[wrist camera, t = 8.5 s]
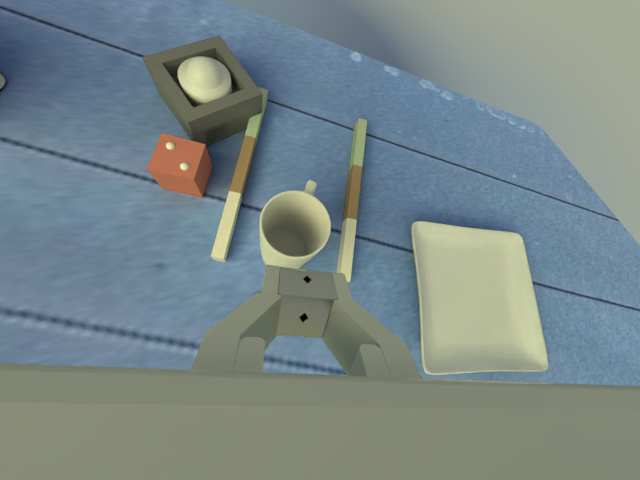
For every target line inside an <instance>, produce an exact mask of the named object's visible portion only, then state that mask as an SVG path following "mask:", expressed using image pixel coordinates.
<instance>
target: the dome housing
mask: <svg viewBox="0 0 640 480" xmlns="http://www.w3.org/2000/svg"><path fill="white" fill-rule="evenodd" d="M198 56H203V57H209V58H212V59H215V60H217V61H219V62H220V63H222V64H223V65H224V66H225V67H226V68H227V70H228V71H229V73H230V77H231V85H232V94H229V95H227V96H224V97H221V98H218V99H216V100H213V101H210V102H207V103H205V104H202V105H199V106H196V107H195V106H194V105H192V104H191V103H190V102H189V101H188V100H187V98H186V97H185V95H184V93H183V90H182V87H181V85H180V82H179V79H178V69H179V66H180V65H181V64H182V63H183V62H184V61H185V60H187V59H189V58H192V57H198ZM142 58H143V60H144V62H145V64H146V66H147V69H148V71H149V73H150V75H151V77H152V79H153V81H154V84H155V86H156V88H157V90H158V92H159V94H160V95H161V97H162V98H163V100H164V101H165V103H166V104H167V105H168V107H169V108H170V110H171V111H172V113H173V114H174V115H175V117H176V118H177V120H178V121H179V123H180V124H181V126H182V127H183V128H184V130H185V131H186V133H187V134H188V136H189V137H190V138H191V140H192V141H195V142H199V143H203V144H206V146H207V145H210V144H212V143H214V142H217V141H219V140H221V139H224V138H226V137H228V136H231V135H233V134H235V133H238V132H240V131H242V130H245V129H247V126H248V122H249V118H251V117H253V116H255V115H258V114H260V113H262V92H261V91H260V90H259V88H258V87H257V86H256V84H255V83H254V82H253V80H252V79H251V77H250V76H249V75H248V73H247V72H246V71H245V69H244V68H243V67H242V65H241V64H240V63H239V61H238V60H237V59H236V57H235V56H234V54H233V53H232V52H231V50H230V49H229V48H228V46H227V45H226V44H225V42H224V41H223V40H222V38H221V37H220V36H217V37H214V38H210V39H206V40H203V41H199V42H195V43H192V44H188V45H184V46H181V47H177V48H173V49H170V50H166V51H162V52H159V53H155V54H151V55H148V56H144V57H142Z"/></svg>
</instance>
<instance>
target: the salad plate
mask: <svg viewBox="0 0 640 480" xmlns="http://www.w3.org/2000/svg"><path fill="white" fill-rule="evenodd" d="M411 238H412V246H413V253H414V260H415V268H416V277H417V287H418V298H419V313H420V337H421V358H422V365H423V369H424V371H425V372H426V373H427V374H430V375H445V374H458V373H473V372H492V371H520V372H537V371H545V370H547V368H548V359H547V353H546V347H545V342H544V337H543V332H542V327H541V322H540V317H539V312H538V307H537V302H536V298H535V293H534V288H533V284H532V279H531V274H530V270H529V265H528V260H527V255H526V250H525V246H524V242H523V239H522V237H521V235H519V234H518V233H514V232H507V231H497V230H487V229H478V228H469V227H461V226H454V225H447V224H440V223H433V222H426V221H416V222H414V223H413V224H412V226H411Z"/></svg>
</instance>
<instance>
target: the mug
mask: <svg viewBox="0 0 640 480" xmlns="http://www.w3.org/2000/svg"><path fill="white" fill-rule="evenodd" d="M316 186H317V183H316V182H314V181H312V180H309V181H308V183H307V185H306V187H305V190H304V192H302V191H286V192H282V193H279V194H277V195H276V196H274V197H273V198H271V199H270V200H269V201H268V202H267V203H266V205H265V206H264V208H263V210H262V212H261V216H260V243H261V254H262V258H263V260H264V262H265V264H266V265H273V266H279V267H280V266H281V267H289V268H296V269H299V268H300V267H301V266H302V265H304V264H305V263H306V262H307V261H308V260H310V259H311V258H312V257H313V256H315V255H316V254H317V253H318V252H319V251H320V250H321V249H322V248H323V247H324V246H325V245H326V243H327V241H328V239H329V236H330V232H331V221H330V217H329V214H328V212H327V210H326V208H325V207H324V205H323V204H322V203H321V202H320V201H319V200H318V199H317V198H316V197H314V196H313V194H314V191H315V189H316Z"/></svg>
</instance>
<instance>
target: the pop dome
mask: <svg viewBox="0 0 640 480" xmlns="http://www.w3.org/2000/svg"><path fill="white" fill-rule="evenodd" d="M178 79H179V82H180V85H181V87H182V90H183V93H184V95H185V97H186V98H187V100H188V101H189V102H190V103H191V104H192V105H194V106H195V107H196V106H199V105H202V104H205V103H207V102H210V101H213V100H216V99H218V98H221V97H224V96H227V95H229V94H232V85H231V77H230V73H229V71H228V70H227V68H226V67H225V66H224V65H223V64H222V63H220V62H219V61H217V60H215V59H212V58H209V57H203V56H198V57H192V58H189V59H187V60H185V61H184V62H183V63H182V64H181V65H180V66H179V69H178Z"/></svg>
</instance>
